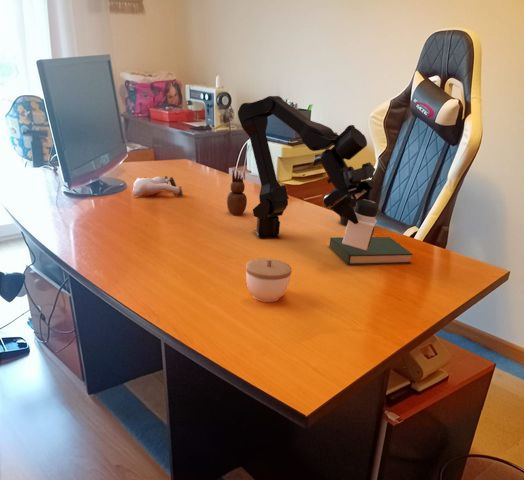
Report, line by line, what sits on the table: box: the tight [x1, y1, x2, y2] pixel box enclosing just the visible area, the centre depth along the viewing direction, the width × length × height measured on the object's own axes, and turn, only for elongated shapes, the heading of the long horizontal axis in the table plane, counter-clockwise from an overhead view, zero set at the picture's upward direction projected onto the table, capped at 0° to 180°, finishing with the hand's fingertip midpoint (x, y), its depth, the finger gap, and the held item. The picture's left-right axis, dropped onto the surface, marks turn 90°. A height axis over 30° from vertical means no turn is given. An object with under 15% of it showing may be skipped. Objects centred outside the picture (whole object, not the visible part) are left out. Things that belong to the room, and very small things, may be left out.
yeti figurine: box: [132, 175, 183, 197], centre depth 197 cm, size 20×7×20 cm
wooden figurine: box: [226, 169, 248, 216], centre depth 179 cm, size 7×6×15 cm
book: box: [328, 236, 413, 266], centre depth 156 cm, size 20×15×3 cm
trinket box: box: [245, 258, 293, 303], centre depth 123 cm, size 11×11×9 cm
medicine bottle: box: [342, 199, 380, 250], centre depth 142 cm, size 7×7×12 cm
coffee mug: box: [332, 197, 356, 227], centre depth 181 cm, size 12×9×10 cm
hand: (365, 220), depth 141 cm, fingers closed on medicine bottle, 8 cm apart
